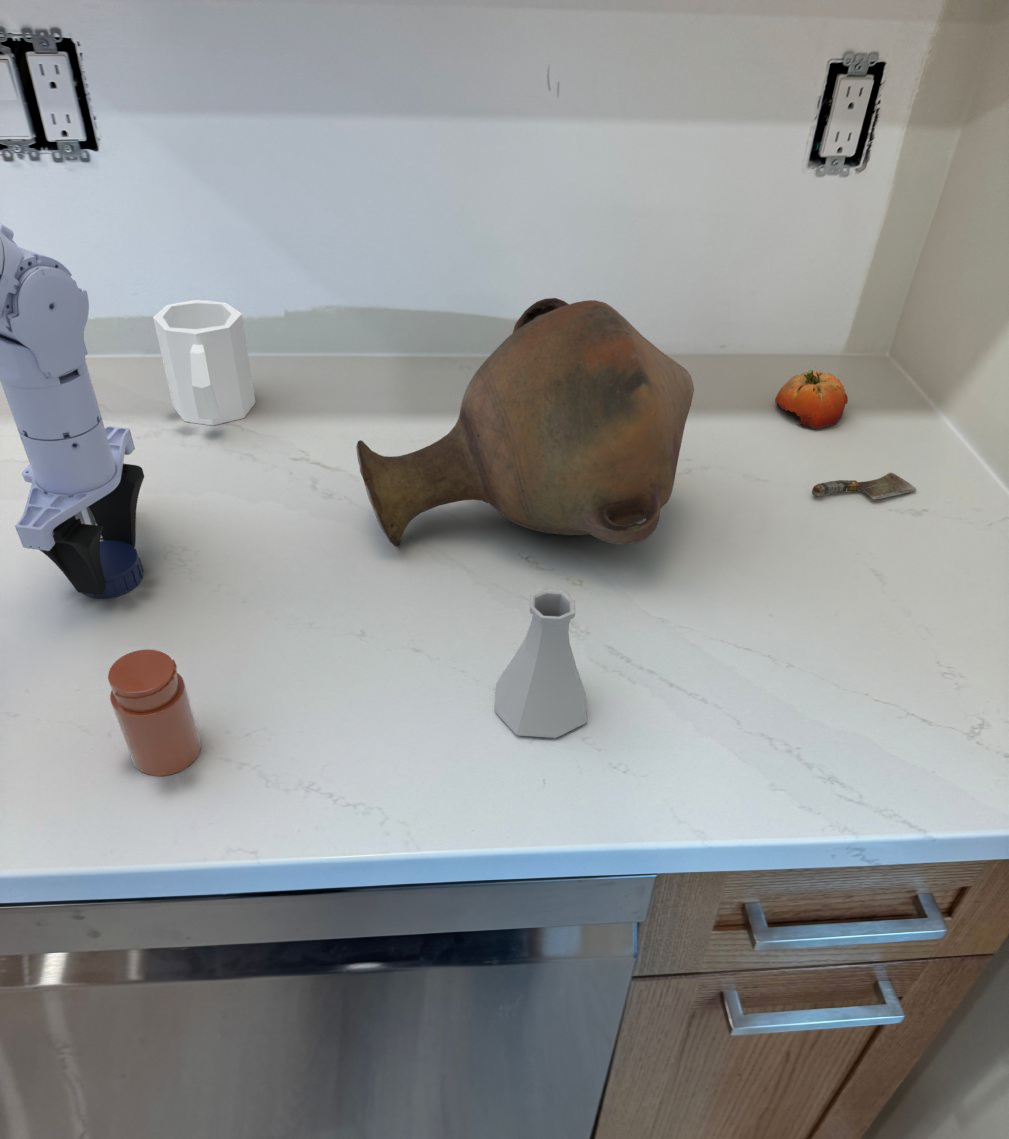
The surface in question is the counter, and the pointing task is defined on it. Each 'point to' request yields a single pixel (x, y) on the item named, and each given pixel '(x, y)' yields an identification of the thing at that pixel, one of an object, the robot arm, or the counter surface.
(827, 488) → the meat cleaver
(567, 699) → the flask
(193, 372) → the mug
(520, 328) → the jug
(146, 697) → the jar
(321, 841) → the counter surface
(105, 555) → the lid
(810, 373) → the tomato
